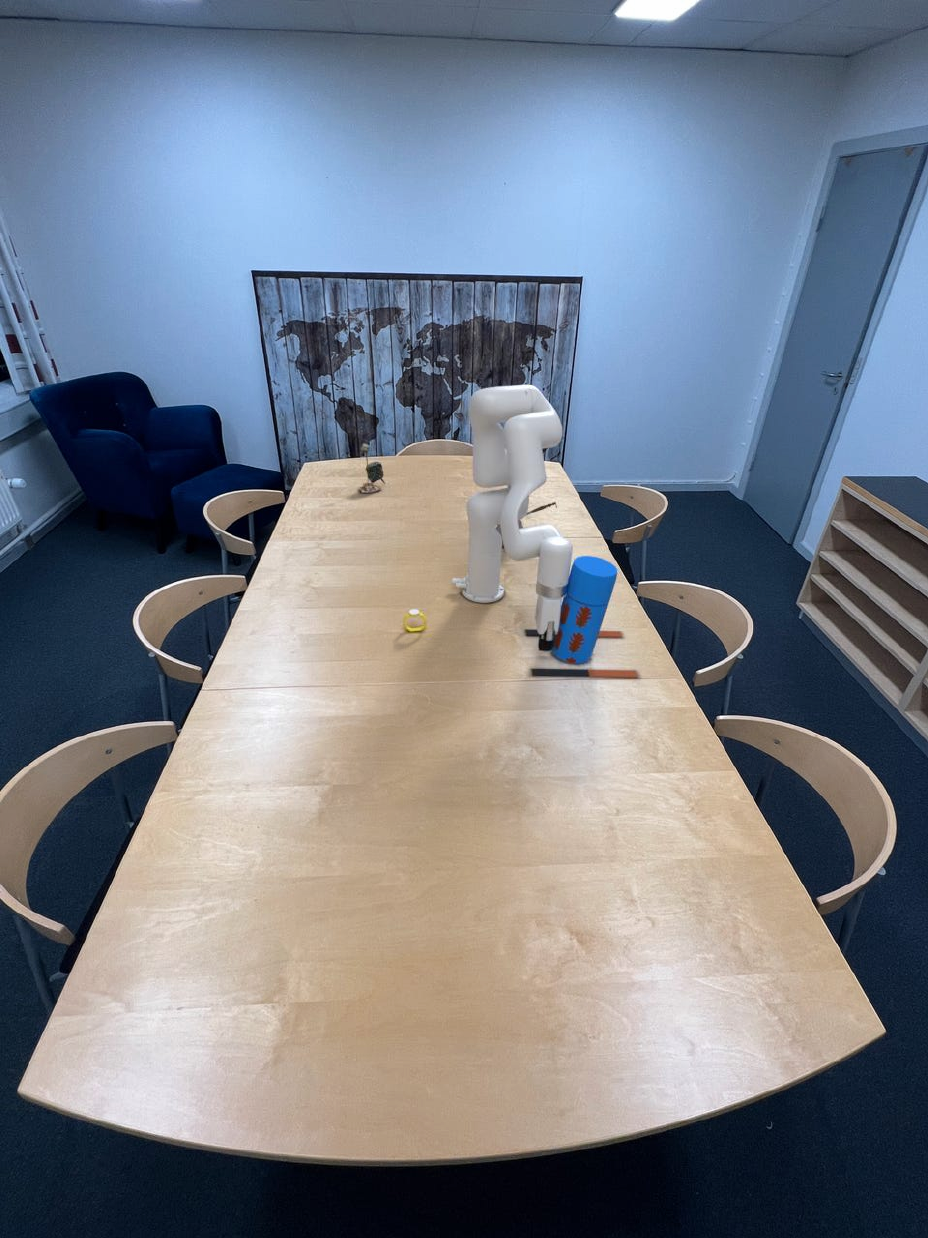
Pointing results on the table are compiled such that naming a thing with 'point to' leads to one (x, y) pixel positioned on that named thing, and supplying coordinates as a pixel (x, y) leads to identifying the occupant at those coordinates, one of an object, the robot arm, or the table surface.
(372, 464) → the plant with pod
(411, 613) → the gold ring
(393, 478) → the table surface
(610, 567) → the thermos
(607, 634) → the lane
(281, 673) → the table surface
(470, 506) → the robot arm
